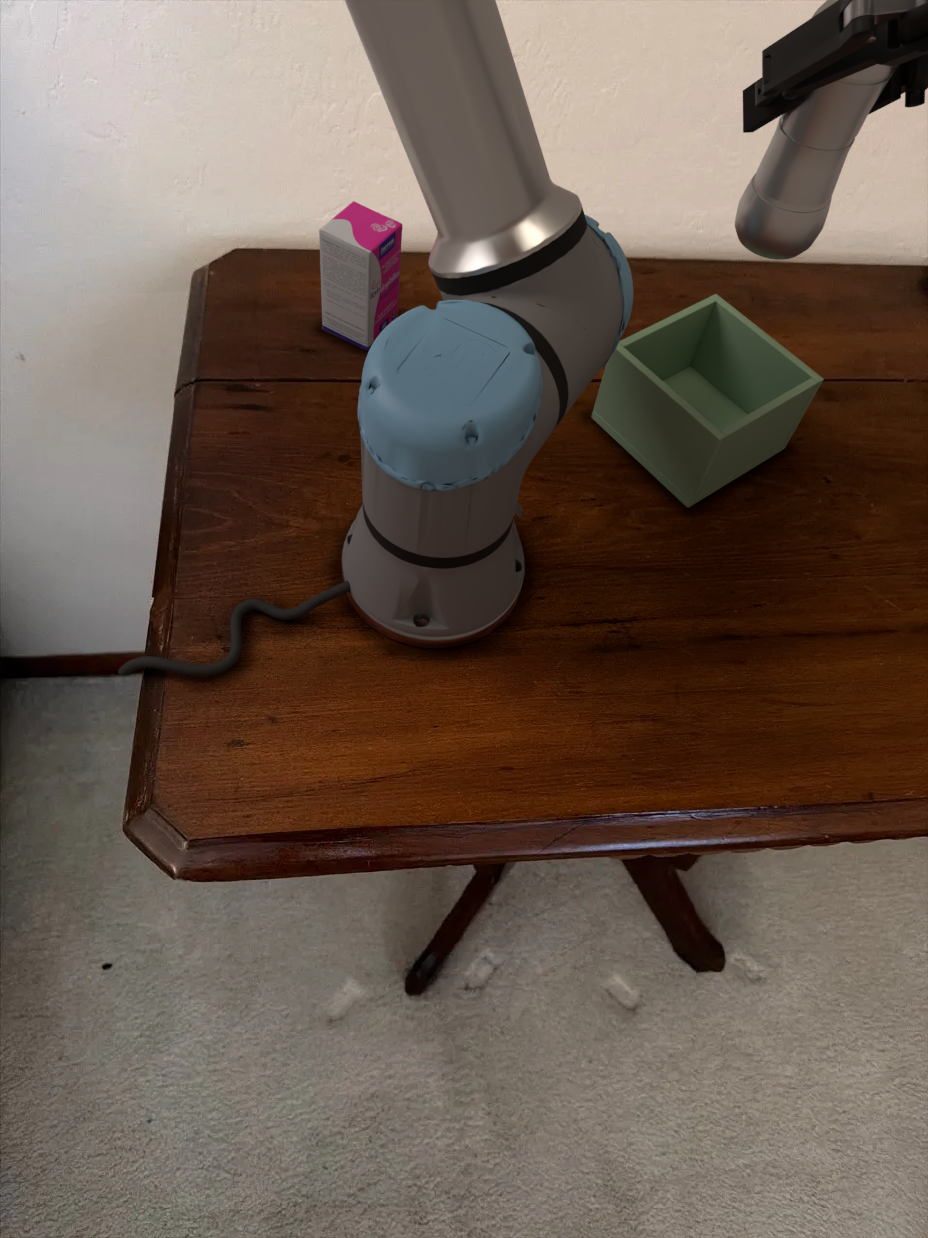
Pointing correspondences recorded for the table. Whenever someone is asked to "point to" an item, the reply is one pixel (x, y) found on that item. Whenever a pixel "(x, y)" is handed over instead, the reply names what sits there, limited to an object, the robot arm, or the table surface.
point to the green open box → (703, 397)
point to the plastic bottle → (805, 164)
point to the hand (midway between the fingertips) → (792, 109)
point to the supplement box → (359, 274)
